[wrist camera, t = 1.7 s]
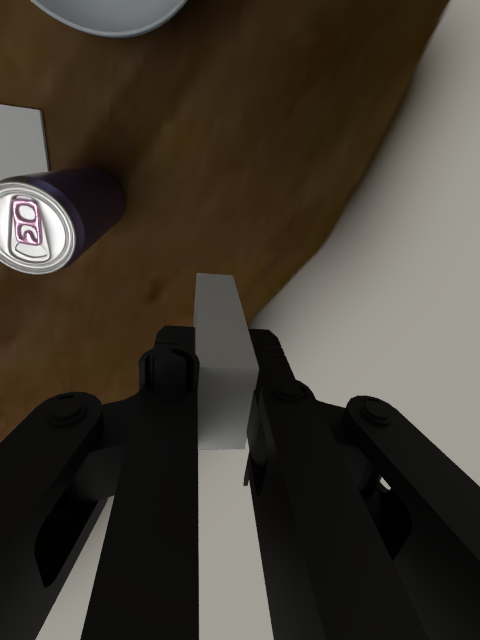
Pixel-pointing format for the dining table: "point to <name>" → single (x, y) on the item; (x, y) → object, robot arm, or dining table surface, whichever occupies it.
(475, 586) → the robot arm
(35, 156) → the flat grey rectangular board
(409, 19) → the dining table surface
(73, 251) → the beverage can
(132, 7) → the chinaware
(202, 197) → the dining table surface
